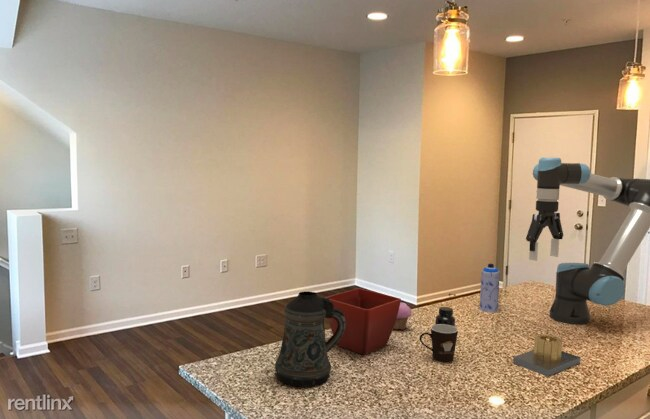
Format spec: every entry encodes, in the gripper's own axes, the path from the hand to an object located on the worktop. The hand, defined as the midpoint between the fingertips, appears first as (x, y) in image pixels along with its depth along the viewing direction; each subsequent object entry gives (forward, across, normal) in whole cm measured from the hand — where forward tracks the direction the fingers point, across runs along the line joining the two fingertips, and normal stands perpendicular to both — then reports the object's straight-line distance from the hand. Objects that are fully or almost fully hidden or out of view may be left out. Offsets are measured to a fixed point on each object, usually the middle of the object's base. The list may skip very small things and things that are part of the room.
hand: (543, 258), depth 187 cm
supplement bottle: (+29, +36, -14) cm, 48 cm away
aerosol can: (+29, -10, -30) cm, 43 cm away
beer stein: (+29, +92, -17) cm, 98 cm away
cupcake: (+29, +40, -33) cm, 59 cm away
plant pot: (+29, +63, -27) cm, 74 cm away
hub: (+27, +23, +17) cm, 39 cm away
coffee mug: (+29, +49, -5) cm, 57 cm away
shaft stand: (+29, +23, +17) cm, 41 cm away
